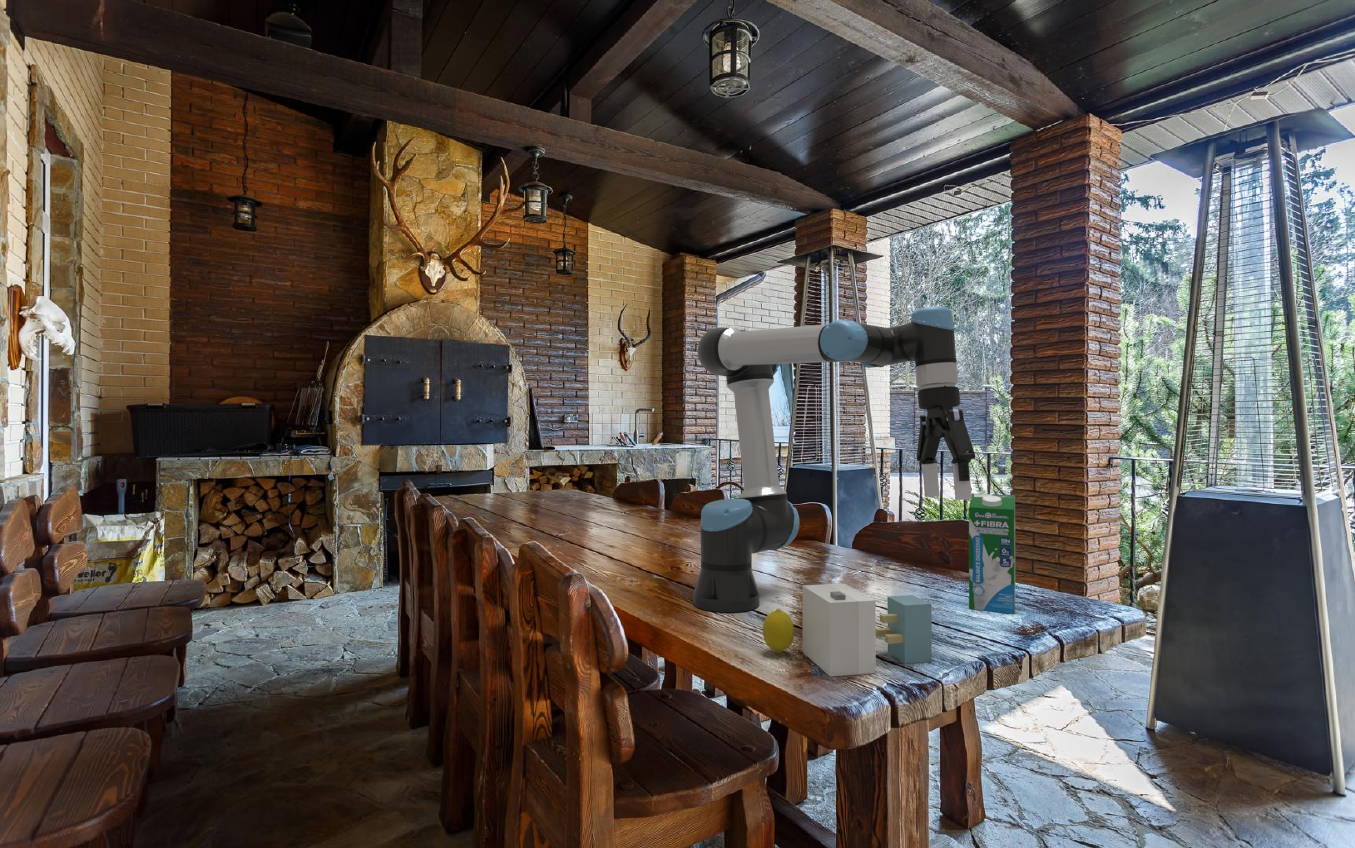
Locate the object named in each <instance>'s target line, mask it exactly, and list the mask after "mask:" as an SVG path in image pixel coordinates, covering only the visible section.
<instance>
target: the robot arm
mask: <svg viewBox="0 0 1355 848" xmlns="http://www.w3.org/2000/svg"><path fill="white" fill-rule="evenodd" d="M955 331H956V329H955V326H954V318H953V312H952V310H951V309H950V308H949V307H947V306H943V305H935V306H925V307H922V308H918V309H915V310H913V311H912V313H911V316H910V322H908V323H905V324H901V325H896V326H892V327H884V326H879V325H873V324H872V325H871V324H867V323H866V324H865V323H861V322H857V321H853V320H850V319H849V320H847V319H842V320H841V319H837V320H834V321H831V322H830V323H826V324H824V323H823V324H815V325H802V326H791V327H790V326H789V327H780V328H767V329H766V328H765V329H756V330H755V329H754V330H745V329H739V328H737V327H715V328H711V329H710V330H708V331H706V332H705V334H703V336H701V339H700V340H699V342H698V344H697V345H698V346H697V358H698V361H699V363H700V364H701V366H702V367H703V369H704V370H706V371H707V372H709V373H710V374H713V375H716V376H720V377H725V380H726V387H727V388H728V389H729V390H730V391H731V392H732V393H733V395H734V404H735V405H734V406H735V415H736V422H737V424H736V426H737V434H738V442H739V443H738V444H739V451H740V452H739V454H740V462H741V471H742V480H743V491H742V492H741V493H740V494H739V496H738V498H727V499H719V500H714V501H711V502H709V503H706V504H705V505H704V506H703V507H702V509H701V513H700V514H701V515H700V522H699V526H700V571H699V574H698V578H697V581H696V584H695V588H694V591H693V594H692V595H693V596H692V597H693V601H692V603H693V606H695V607H696V608H698V609H701V610H704V611H709V612H716V613H740V612H747V611H751V610H754V609H757V608H758V607H759V606H760V592H759V589H758V586H757V582H756V579H755V576H754V573H753V568H752V565H753V563H752V561H753V554H758V553H761V552H766V551H777V550H779V549H781V548H784V547H787V546H788V545H790V544H791V543H793V541H794V539H795V538H796V537H797V535H798V533H799V529H800V516H799V513H798V510H797V508H796V507H794V505H793V503H791V502H790V501H788V495H787V491H786V490H784V489H783V487H781V486H780V480H779V471H778V463H777V462H778V461H777V453H776V444H775V436H774V435H775V434H774V425H773V417H772V416H773V415H772V408H771V398H770V388H771V386H772V385H774V384H775V383H774V382H775V379H774V378H775V377H774V376H775V374H776V373H777V372H778V368H779V367H780V365H785V364H786V365H787V364H811V363H843V362H847V363H848V362H852V363H853V362H854V363H860V364H861V365H862V366H863V367H864V368H868V369H870V368H873V369H874V368H884V367H885V366H890V365H891V366H892V365H896V364H901V363H907V362H914V363H915V367H914V370H915V381H916V382H915V383H916V387H917V388H919V390H918V391H917V400H918V408H919V409H920V410H926V412H927V413H926V414H921V415H920V416H919V435H918V442H917V451H916V460H917V462H919V463H920V464H921V465H922V467H921V468H922V477H923V478H922V479H923V480H922V481H923V490H924V497H925V498H928V497H929V498H931V497H932V498H933V497H940V486H939V471H938V463H939V462H938V460H937V455H938V454H937V453H938V449H939V446H940V442H941V439H942V438H943V439H944V442H945V444H946V446H947V448H948V451H949V453H950V455H951V456H952V459H951V461H950V462H951V464H952V475H953V486H954V499H955V501H963V500H971V499H972V485H971V472H970V463H971V460H975V459H976V452H975V449H974V447H973V444H972V440H971V438H970V435H969V432H968V428H967V425H966V422H965V419H964V412H963V411H964V410H963V409H961V408H958V407H960V405H961V394H960V388H959V387H958V386H956V385H957V384H958V383H959V375H958V374H960V370H959V369H958V365H957V363H958V362H957V361H958V360H957V353H956V337H955ZM956 407H957V408H958V409H954V408H956Z"/></svg>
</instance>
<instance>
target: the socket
mask: <svg viewBox="0 0 1355 848" xmlns="http://www.w3.org/2000/svg"><path fill="white" fill-rule="evenodd" d="M876 605H877V604H876V600H875V599H874V598H872V597H870V596H869V595H866V594H864V593H863V592H861V591H860V590H857V589H855V588H853V587H852V586H850V585H848V584H846V583H827V584H826V583H825V584H824V583H823V584H807V585H805V584H803V585H802V653H803V654H804V655H805V656H806V657H808V658H809V659H810V660H811V661H812V662H813V663H815V665H817V666H818V667H819V669H821V670H822V671H823V672H824V673H826V674H827V675H828V676H829V677H830V678H831V677H844V676H855V675H857V676H858V675H866V674H867V675H868V674H876V673H877V671H876V669H877V664H876V663H877V662H876V658H877V656H876V654H877V653H876V650H877V646H876V645H877V644H876V643H877V642H876V641H877V640H876V639H877V636H876V627H877V626H876V625H877V624H876V619H877V616H876V615H877V614H876V613H877V609H876Z"/></svg>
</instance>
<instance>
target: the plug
mask: <svg viewBox="0 0 1355 848" xmlns="http://www.w3.org/2000/svg"><path fill="white" fill-rule="evenodd" d="M879 622H880V623H882V624H887V627H877V628H876V638H878V637H879V638H884V642H885V643H887V653H888V654H889V655H891V656H893V657H894V658H896V659H897V660H899V661H900V662H902V663H903V664H905V665H907V664H917V663H916V662H921V663H931V662H932V660H933V657H932V652H933V651H932V650H933V649H932V648H933V647H932V645H933V644H932V640H933V639H932V630H933V629H932V625H933V624H932V623H933V622H932V603H930V602H928V601H927V600H924V599H922V598H919V597H918V596H916V595H913V594H907V595H894V596H893V595H891V596H890V595H889V596H887V613H881V614H879Z"/></svg>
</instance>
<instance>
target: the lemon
mask: <svg viewBox="0 0 1355 848" xmlns="http://www.w3.org/2000/svg"><path fill="white" fill-rule="evenodd" d="M794 628H795V627H794V623H793V620H792V618H791V616H789V614H788V613H787V612H785V611H783V610H781V609H780V608H776V610H773V611H771V612H770V613H768V614H767V616H766V617H765V619H764V622H763V626H762V637H763V639H764V642H765V644H766V646H767V647H768V648H769V649H770V650H773V651H774V652H775V653H776V654H778V655H780V654H781V653H783V651H786V650H787V649H789V648H790V647H791V645H793V641H794V638H795V629H794Z"/></svg>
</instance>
